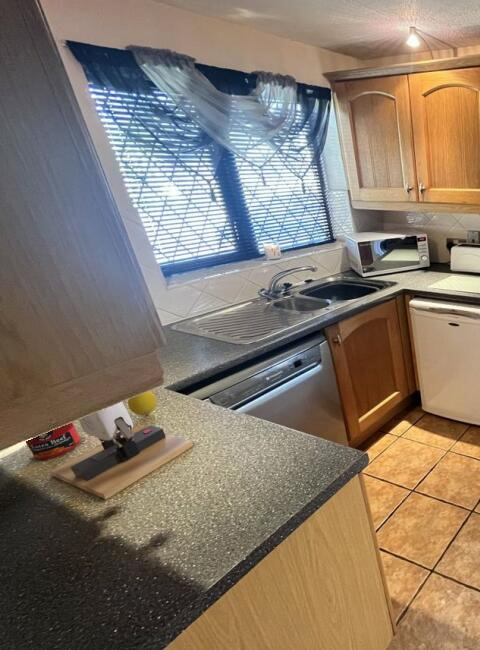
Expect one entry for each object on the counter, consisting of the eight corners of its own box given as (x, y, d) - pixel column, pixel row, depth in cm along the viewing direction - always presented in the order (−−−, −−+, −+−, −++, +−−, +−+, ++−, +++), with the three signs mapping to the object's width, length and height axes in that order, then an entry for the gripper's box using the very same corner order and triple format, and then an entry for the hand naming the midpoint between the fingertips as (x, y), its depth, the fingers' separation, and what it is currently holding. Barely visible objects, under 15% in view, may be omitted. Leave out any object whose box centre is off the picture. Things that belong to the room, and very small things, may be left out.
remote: (87, 481, 82) (82, 471, 81) (75, 476, 84) (69, 466, 83) (166, 437, 95) (162, 427, 94) (154, 433, 97) (150, 424, 96)
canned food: (30, 465, 89) (7, 426, 85) (39, 447, 95) (18, 410, 91) (78, 450, 94) (58, 412, 90) (83, 433, 99) (65, 398, 95)
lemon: (161, 406, 110) (151, 382, 107) (160, 415, 106) (150, 390, 103) (135, 414, 107) (124, 389, 104) (133, 423, 103) (122, 398, 100)
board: (52, 475, 86) (49, 470, 85) (142, 429, 101) (140, 424, 100) (106, 499, 79) (103, 494, 79) (193, 445, 94) (191, 441, 94)
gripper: (45, 390, 82) (82, 457, 89) (92, 405, 77) (126, 475, 84) (91, 373, 89) (121, 437, 96) (136, 385, 84) (165, 452, 90)
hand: (123, 454), depth 89 cm, fingers closed on remote, 4 cm apart
